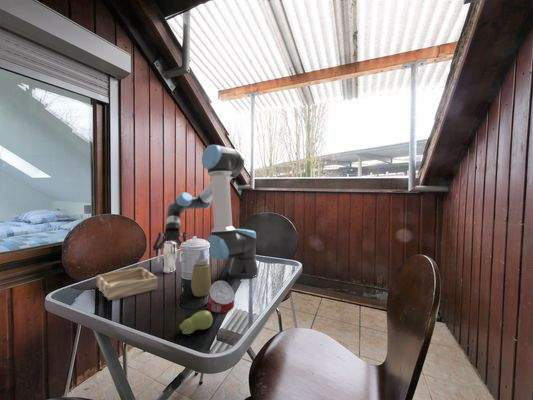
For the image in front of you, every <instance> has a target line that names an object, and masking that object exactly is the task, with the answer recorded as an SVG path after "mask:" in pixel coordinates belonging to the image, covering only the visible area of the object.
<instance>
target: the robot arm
mask: <svg viewBox="0 0 533 400" xmlns="http://www.w3.org/2000/svg"><path fill="white" fill-rule="evenodd" d="M201 164H202V166H203V168H204V169H206V170H207V175H208V176H209V177H210V178H211V180H210V182H209V183H208V184H207V185H206V186H205V188H204V189H203V190H202V191H200V193H199V194H198V195H191V194H190V193H189V192H185V191H184V192H181V193H180V194H179V195H178V196H177V197H176V199H175V200H174V201H172V202H170V203H169V204H168V206H167V213H166V220H165V222H166V223H165V229H164V230H165V231H164V232H158V236H157V238H156V240H155V242H154V244H153V245H152V249H153V251H155V257H157V258H156V259H157V264H160V259H161V253H162V252H161V250H162V249H163V245H164V242H166V241H176V242H177V246H179V247H180V245H181V243H184V242H185V241H186V242H187V239H186V232H180V230H181V221H182V219H181V218H182V214H183V213H184V212H185V211H186V210H188V209H189V210H195V209H199V210H200V209H203V210H205V209H209V208H210V207H211V206H212V209H213V210H212V212H213V213H212V214H213V226H214V227H213V229H211V230H210V233H211V235H210V236H209V237H208V238H207V240H206V242H207V241H208V242H209V243H210V248H209V252H208V254H209V255H210V257H211V258H212V259H214V260H216V261H221V260H227V259H230V258H232V260H231V263H230V266H229V268H228V275H229V276H230V277H232V278H234V279H235V278H236V279H251V278H250V277H253V276H255V275H257V274H258V275H259V268H258V265H257V260H256V250H257V248H256V247H257V232H256V231H255V230H251V229H245V228H235V227H234V226H233V214H232V199H231V184H230V182H231V180H233V178H237V177H238V176H239V175H240V174H241V172H242V171H243V169H244V165H245V159H244V156H243V154H242V152H241V151H240V150H238V149H236V148H232V147H227V146H222V145H219V144H210V145H208V146H207V147H206V148H205V149H204V151H203V153H202V157H201ZM163 237H164V238H163ZM179 237H180V238H182V241H183V242H182V241H181V240H180V238H179ZM162 238H163V239H162ZM179 263H182V257H181V251H180V250H179ZM258 275H257V276H258ZM255 277H256V276H255ZM253 278H254V277H253Z"/></svg>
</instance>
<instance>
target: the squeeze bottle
mask: <svg viewBox="0 0 533 400" xmlns="http://www.w3.org/2000/svg"><path fill="white" fill-rule="evenodd" d="M208 261H209V260H208V258H206V256H205V250H203V249H202V250H200V252H199V257H198V258H197V259H195V264H194V265H193V266H192V274H191V280H190V281H191V282H190V288H191V291H192V294H193V296H194V297H198V298H199V297H205V296H207V295H209V290H210V287H211V285H212V280H211V279H212V277H211V265H210V264H209V262H208Z"/></svg>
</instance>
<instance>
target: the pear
mask: <svg viewBox="0 0 533 400" xmlns="http://www.w3.org/2000/svg"><path fill="white" fill-rule="evenodd" d="M213 321H214V320H213V314H212V313H211V311H210V310H208V309H207V310H204V309H203V310H200V311H197V312H196V313H193V315H191V316H190V317H189V318H185V319H184V320H183V321H182V323H180V324H179V329H180V331H181V330H182V331H181V333H182V335H183V334H191V333H192V334H193V333H194V332H195V331H196V330H206V329H207V330H208V328H210V327H211V326H212V324H213ZM192 334H191V335H192Z"/></svg>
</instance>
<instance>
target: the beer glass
mask: <svg viewBox="0 0 533 400" xmlns="http://www.w3.org/2000/svg"><path fill="white" fill-rule="evenodd" d="M162 256H163V263H164V264H163V265H164V266H163V271H162V272H163V273H166V274H171V273H170V272H172V273H174V272H173V271H175V270H176V271H177V267H176V261H177V257H178V243H177V242H176V240H175V241H173V240H171V241H169V240H168V241H166V242H164V245H163V247H162ZM176 271H175V272H176Z"/></svg>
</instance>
